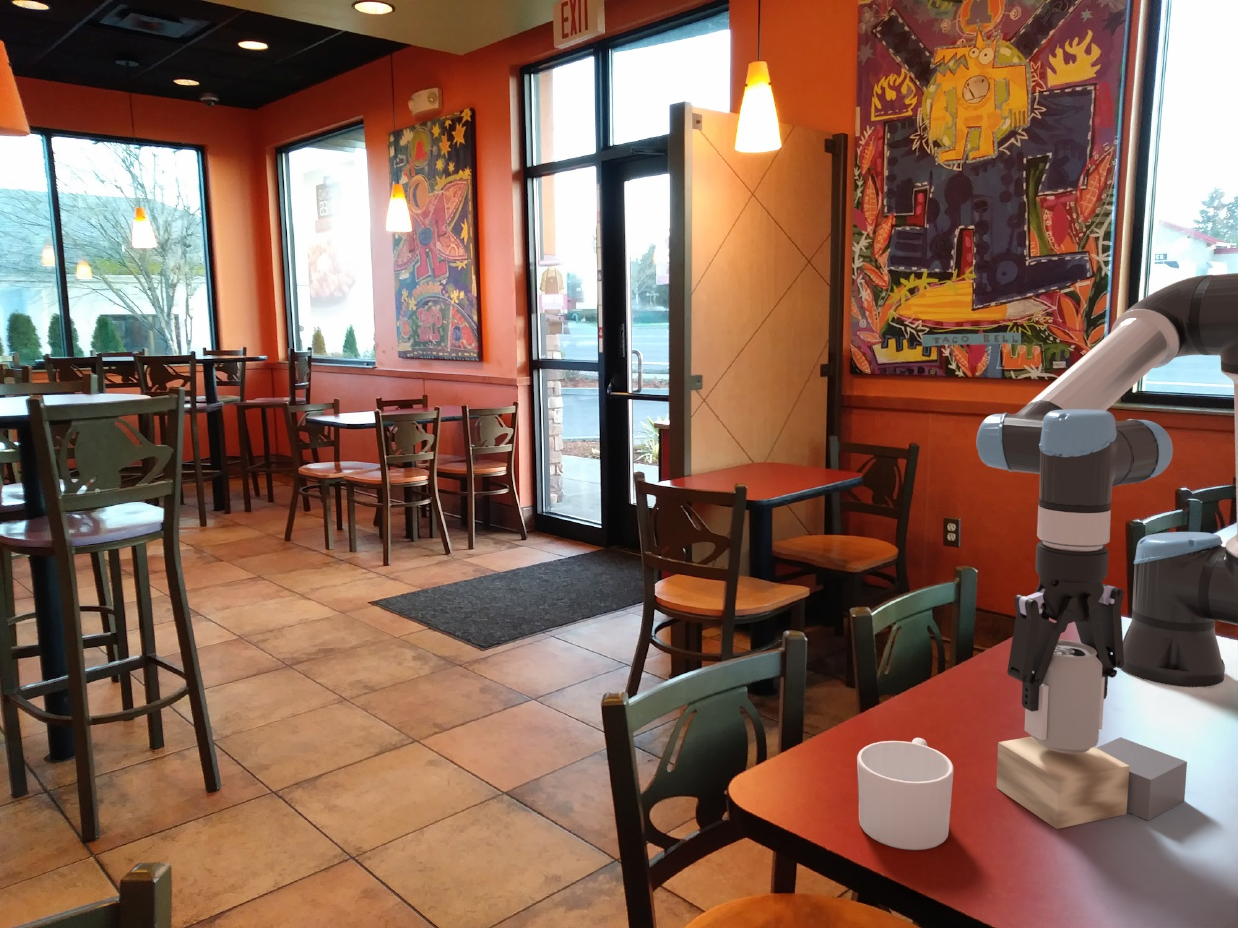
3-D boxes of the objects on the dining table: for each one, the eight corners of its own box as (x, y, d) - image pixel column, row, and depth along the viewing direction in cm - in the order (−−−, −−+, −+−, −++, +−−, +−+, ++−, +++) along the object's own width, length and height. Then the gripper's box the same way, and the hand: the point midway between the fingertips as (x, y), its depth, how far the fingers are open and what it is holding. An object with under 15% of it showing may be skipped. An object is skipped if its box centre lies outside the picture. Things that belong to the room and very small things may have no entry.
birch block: (1062, 774, 114) (1064, 730, 113) (1126, 813, 105) (1129, 765, 104) (996, 787, 112) (998, 742, 111) (1056, 828, 102) (1059, 779, 101)
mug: (939, 862, 96) (942, 792, 95) (844, 835, 102) (844, 769, 101) (965, 806, 107) (967, 742, 106) (877, 785, 113) (879, 724, 112)
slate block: (1118, 774, 114) (1120, 737, 114) (1184, 800, 107) (1187, 761, 107) (1081, 791, 110) (1083, 753, 109) (1148, 820, 103) (1150, 779, 103)
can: (1106, 759, 103) (1112, 659, 101) (1036, 754, 104) (1041, 656, 103) (1086, 731, 110) (1091, 637, 108) (1021, 727, 112) (1025, 634, 110)
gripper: (1115, 529, 110) (1106, 705, 113) (976, 543, 104) (970, 729, 108) (1168, 542, 103) (1157, 730, 106) (1022, 558, 97) (1014, 756, 101)
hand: (1063, 729), depth 107 cm, fingers closed on can, 7 cm apart
